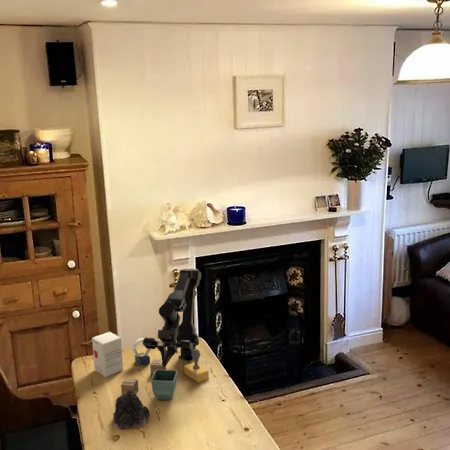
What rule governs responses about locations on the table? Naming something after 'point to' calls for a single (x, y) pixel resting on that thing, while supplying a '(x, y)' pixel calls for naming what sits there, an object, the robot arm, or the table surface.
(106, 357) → the supplement box
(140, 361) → the watch
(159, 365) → the numbered block seven
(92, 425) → the table surface
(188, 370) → the rubber stamp
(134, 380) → the numbered block one
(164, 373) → the flower pot
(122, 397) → the crystal cluster
